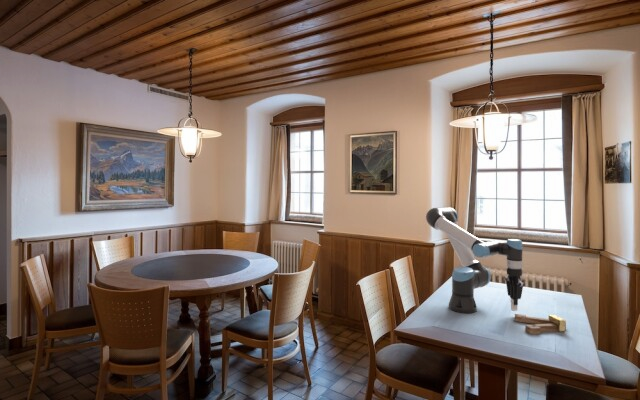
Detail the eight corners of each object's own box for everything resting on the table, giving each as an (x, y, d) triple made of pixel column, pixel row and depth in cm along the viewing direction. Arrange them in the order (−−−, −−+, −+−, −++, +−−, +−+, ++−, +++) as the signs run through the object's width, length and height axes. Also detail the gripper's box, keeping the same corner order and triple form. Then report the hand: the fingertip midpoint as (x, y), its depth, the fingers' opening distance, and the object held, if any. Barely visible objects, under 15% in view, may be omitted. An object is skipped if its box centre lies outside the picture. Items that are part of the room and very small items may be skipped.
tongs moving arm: (514, 318, 191) (515, 313, 190) (563, 324, 182) (563, 319, 182) (516, 322, 185) (516, 317, 185) (566, 329, 176) (566, 324, 176)
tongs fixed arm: (524, 330, 176) (525, 324, 175) (559, 328, 178) (559, 323, 178) (530, 334, 171) (531, 328, 171) (565, 332, 173) (566, 326, 173)
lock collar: (548, 325, 181) (548, 315, 180) (553, 325, 181) (554, 314, 181) (559, 331, 173) (560, 320, 173) (565, 331, 174) (565, 320, 174)
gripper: (500, 265, 200) (500, 306, 201) (515, 270, 187) (515, 314, 188) (513, 264, 201) (512, 306, 202) (529, 270, 188) (528, 314, 189)
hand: (514, 310), depth 195 cm, fingers closed
